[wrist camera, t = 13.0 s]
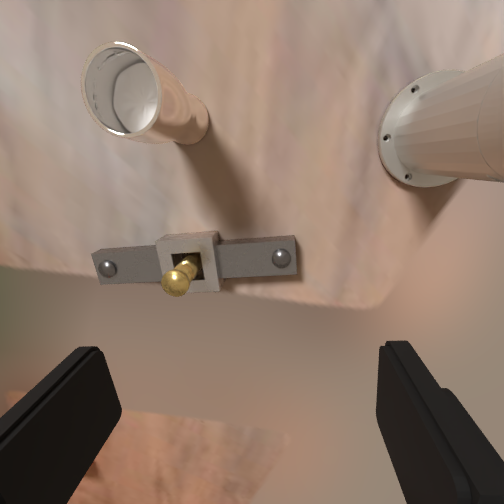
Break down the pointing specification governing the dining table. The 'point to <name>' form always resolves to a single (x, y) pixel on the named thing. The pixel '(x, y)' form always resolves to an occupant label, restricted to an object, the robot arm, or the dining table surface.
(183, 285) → the link pin
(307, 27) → the dining table surface
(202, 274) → the studded connector plate
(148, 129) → the metal tumbler
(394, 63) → the dining table surface
